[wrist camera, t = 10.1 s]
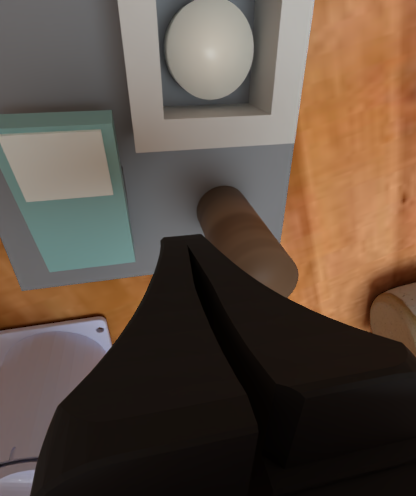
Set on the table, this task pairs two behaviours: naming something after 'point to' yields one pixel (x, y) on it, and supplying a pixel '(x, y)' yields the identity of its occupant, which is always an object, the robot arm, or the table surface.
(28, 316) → the table surface
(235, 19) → the cream smooth round part
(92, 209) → the block
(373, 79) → the table surface
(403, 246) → the table surface
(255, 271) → the dowel
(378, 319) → the ceramic mug
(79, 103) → the panel
